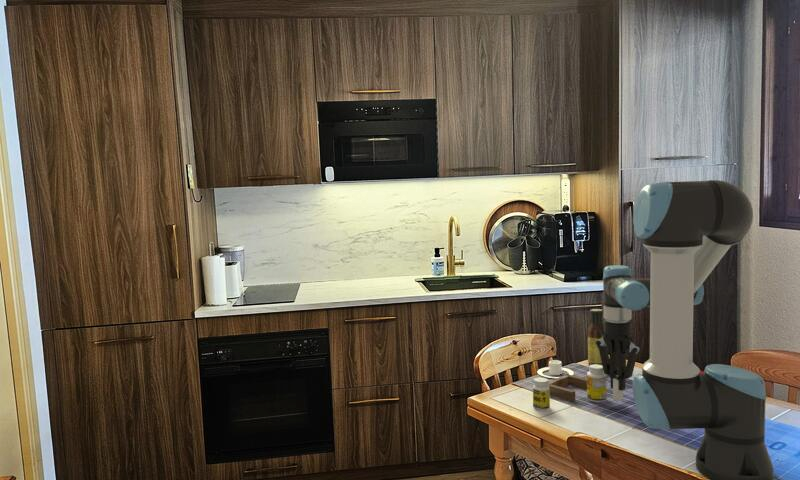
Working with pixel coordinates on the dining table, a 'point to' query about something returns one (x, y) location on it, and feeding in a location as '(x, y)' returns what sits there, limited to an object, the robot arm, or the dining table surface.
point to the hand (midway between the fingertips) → (617, 399)
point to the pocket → (561, 382)
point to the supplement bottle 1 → (541, 394)
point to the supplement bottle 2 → (596, 384)
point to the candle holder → (554, 369)
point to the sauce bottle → (595, 336)
